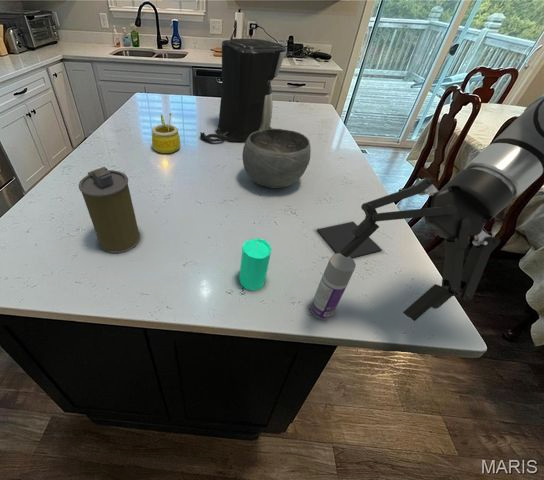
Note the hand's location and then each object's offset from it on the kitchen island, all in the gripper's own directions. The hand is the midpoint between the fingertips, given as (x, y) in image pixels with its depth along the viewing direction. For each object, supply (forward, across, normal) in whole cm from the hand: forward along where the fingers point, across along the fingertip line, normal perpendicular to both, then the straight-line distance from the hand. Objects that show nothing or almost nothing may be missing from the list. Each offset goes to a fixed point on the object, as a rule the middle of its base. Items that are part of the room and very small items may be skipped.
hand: (375, 285), depth 46 cm
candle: (+17, +12, -20) cm, 28 cm away
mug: (+11, +68, -65) cm, 95 cm away
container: (+10, -2, -16) cm, 19 cm away
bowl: (-6, +28, -54) cm, 61 cm away
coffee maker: (-15, +58, -84) cm, 103 cm away
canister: (+34, +44, -24) cm, 60 cm away
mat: (-7, 0, -35) cm, 36 cm away
